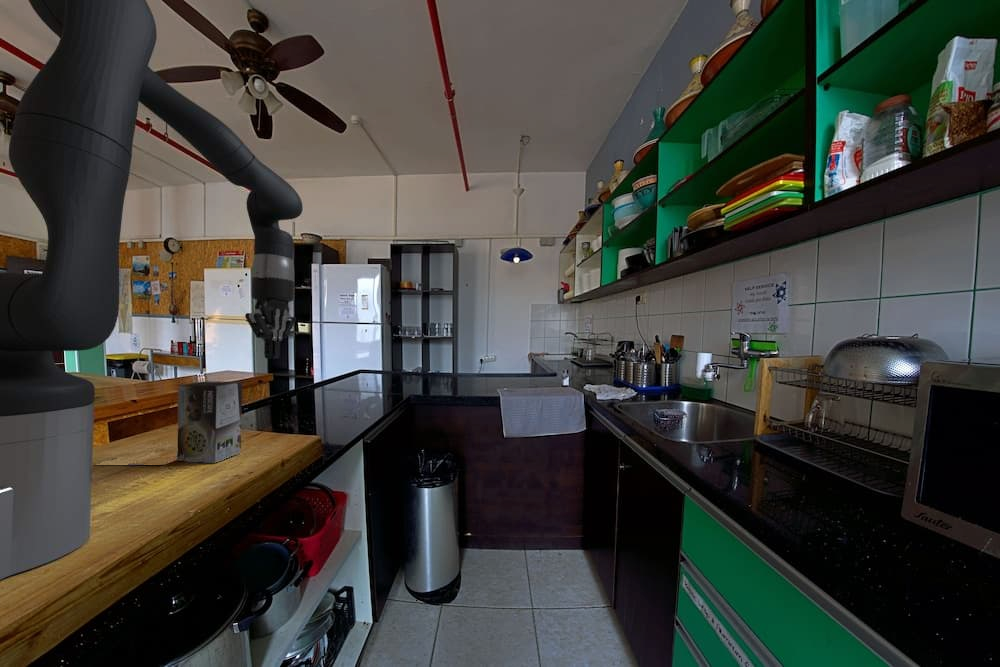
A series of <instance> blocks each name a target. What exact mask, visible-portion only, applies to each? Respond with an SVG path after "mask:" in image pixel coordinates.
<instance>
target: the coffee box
mask: <svg viewBox="0 0 1000 667" xmlns="http://www.w3.org/2000/svg"><path fill="white" fill-rule="evenodd" d="M177 386H178V388H177V391H178V392H177V448H178V451H177V461H188V462H187V463H198V462H203V464H204V463H205V464H216V462H217V463H220V462H222V461H225V460H227V459H226V458H228V459H230V458H232V457H231V456H233V457H235V456H234V455H236V454H239V453H240V454H241V453H242V416H243V415H242V414H243V413H242V410H243V409H242V408H243V407H242V406H243V404H242V403H243V381H223V380H222V381H217V380H216V381H215V380H214V381H210V380H209V381H207V380H206V381H200V382H199V381H198V382H192V383H188V384H179V385H177ZM240 454H239V455H240ZM236 456H237V455H236ZM229 457H230V458H229ZM224 459H225V460H224ZM221 460H222V461H221ZM177 461H176V462H177ZM219 461H220V462H219Z"/></svg>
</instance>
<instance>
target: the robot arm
mask: <svg viewBox="0 0 1000 667" xmlns="http://www.w3.org/2000/svg"><path fill="white" fill-rule="evenodd" d="M28 2H29V4H30V6H31V7H32V9H33V11H34V13H36V15H37V16H38V17H39V19H41V21H42V22H43V23H44V24H45V25H46V26H47V28H49V30H50V31H51V32H52V33H54V34H55V35H56V36H57V37H58V38H59V42H58V45H57V46H56V47H55V50H54V51H53V53H52V54H51V55H50V57H49V58H48V60H46V62H45V63H44V65H43V66H42V67H41V69H40V70H39V71H38V72H37V74H36V75H35V77H34V78H33V79H32V81H31V82H30V84H29V85H28V87H27V88H26V90H25V92H24V93H23V94H22V96H21V98H20V100H19V103H18V106H17V108H16V112H15V114H14V120H13V124H12V130H11V135H10V140H9V144H8V158H9V162H10V165H11V168H12V170H13V172H14V174H15V176H16V177H17V179H18V180H19V182H20V184H21V186H22V187H23V189H24V190H25V192H26V193H27V194H28V196H29V198H30V199H31V200H32V202H33V203H34V205H35V207H36V208H37V210H38V211H39V213H40V214H41V215H42V219H43V220H44V223H45V225H46V230H47V231H46V232H47V248H46V249H47V250H46V257H45V261H44V266H43V268H42V272H41V273H34V272H33V273H32V272H31V273H28V272H0V580H3V579H5V578H6V577H7V578H8V577H10V576H13V575H15V574H18V573H21V572H26V571H29V570H30V569H34V568H36V567H39V566H43V565H44V564H47V563H50V562H53V561H55V560H58V559H60V558H62V557H64V556H65V555H67V554H69V553H72V552H73V551H75V550H77V549H78V548H81V546H83V545H84V544H86V543H87V542H88V541H89V539H90V536H91V535H90V534H91V515H92V514H91V513H92V512H91V509H92V506H91V505H92V482H93V481H92V480H93V477H92V476H93V475H92V474H93V454H94V453H93V452H94V451H93V450H94V449H93V448H94V447H93V446H94V424H95V420H94V419H95V400H96V398H95V395H96V394H95V392H96V391H95V390H96V389H95V385H94V383H93V382H92V381H91V380H88V379H86V378H83V377H80V376H77V375H73V374H71V373H69V372H67V371H65V370H63V369H62V368H60V366H58V365H57V364H56V363H55V360H54V356H53V352H75V351H76V352H77V351H78V352H79V351H87V350H91V349H94V348H97V347H99V346H100V345H102V344H104V343H105V342H106V341H107V340H108V339H110V336H111V335H112V333H113V332H114V330H115V327H116V325H117V321H118V316H119V312H120V311H119V310H120V241H121V232H122V231H121V229H122V222H123V221H122V220H123V212H124V211H123V210H124V204H125V203H124V202H125V198H126V197H125V196H126V192H127V188H128V187H127V186H128V183H129V179H130V178H129V177H130V171H131V164H132V163H131V162H132V156H133V144H134V138H135V137H134V136H135V131H136V130H135V129H136V125H137V124H136V123H137V118H138V110H139V103H140V104H142V105H143V106H144V107H145V108H147V109H148V110H150V112H151V113H153V114H154V115H156V116H157V117H158V118H159V119H160V120H162V121H163V122H164V123H165V124H167V125H168V126H169V127H170V128H172V129H173V130H174V131H175V132H176V133H177V134H179V135H180V136H181V137H182V138H183V139H185V141H186V142H188V143H189V144H190V145H191V146H192V147H193V148H194V149H195V150H196V151H197V152H198V153H199V154H200V155H201V156H203V158H205V159H206V161H208V162H209V163H210V165H211V166H212V167H214V168H215V169H216V171H218V172H219V173H220V175H222V176H223V177H224V178H225V179H226V180H227V181H228V182H230V183H231V184H232V185H234V186H237V187H242V188H246V189H250V190H251V191H250V192H249V193H248V195H247V199H246V211H247V215H248V217H249V218H248V219H249V221H250V222H249V223H250V225H251V229H252V232H253V236H254V243H253V244H254V245H253V248H254V249H253V261H252V267H251V268H252V269H251V298H252V299H253V300H256V303H255V305H254V310H253V311H252V312H246V313H245V314H244V317H245V319H246V321H247V322H248V325H249V326H250V328H251V330H252V332H253V333H254V335H255V337H256V338H258V339H261V340H262V341H264V344H263V346H264V349H263V350H264V351H263V352H264V354H263V355H264V358H265V359H279V358H280V354H281V341H282V340H283V339H287V338H288V336H289V335H290V333H291V331H292V328H293V327H294V325H295V323H296V321H297V318H296V316H291V314H290V308H289V303H290V302H292V301H294V298H295V268H294V267H295V266H294V238H293V236H292V235H291V234H290V233H289V232H287V231H285V230H282V229H281V228H280V224H279V222H280V221H287V220H288V221H289V220H294V219H297V218H298V217H299V216H301V214H302V213H303V207H304V206H303V202H302V199H301V196H300V195H299V193H298V192H297V191H296V189H295V188H294V187H293V186H292V185H291V184H290V183H289V182H288V181H287V180H285V179H284V178H282V177H281V176H280V175H279V174H277V173H276V172H275V171H274V170H272V169H271V168H269V167H268V166H267V165H266V164H264V163H263V162H262V161H260V160H259V159H258V158H257V156H256V155H255V154H254V153H253V152H252V151H251V150H250V148H249V147H248V146H247V145H246V144H245V143H244V142H243V141H242V139H241V138H240V137H239V136H238V135H237V134H236V133H235V131H233V130H232V129H231V128H230V127H229V126H228V125H227V124H226V123H224V122H223V121H222V120H220V119H219V118H218V117H216V116H215V115H213V114H212V113H211V112H210V111H207V110H206V109H205V108H203V107H202V106H200V105H198V104H197V103H196V102H194V101H192V100H191V99H189V98H188V97H186V96H185V95H183V94H182V93H181V92H179V91H178V90H176V89H175V88H174V87H172V86H171V85H170V84H168V83H167V82H166V81H165V80H164V79H162V77H160V76H159V75H158V74H157V73H156V72H155V71H154V70H153V69H152V68H151V67H150V66H149V63H150V60H151V59H152V54H153V53H154V49H155V46H156V43H157V36H158V34H157V25H156V20H155V17H154V15H153V12H152V10H151V8H150V5H149V4H148V1H147V0H28Z"/></svg>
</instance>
